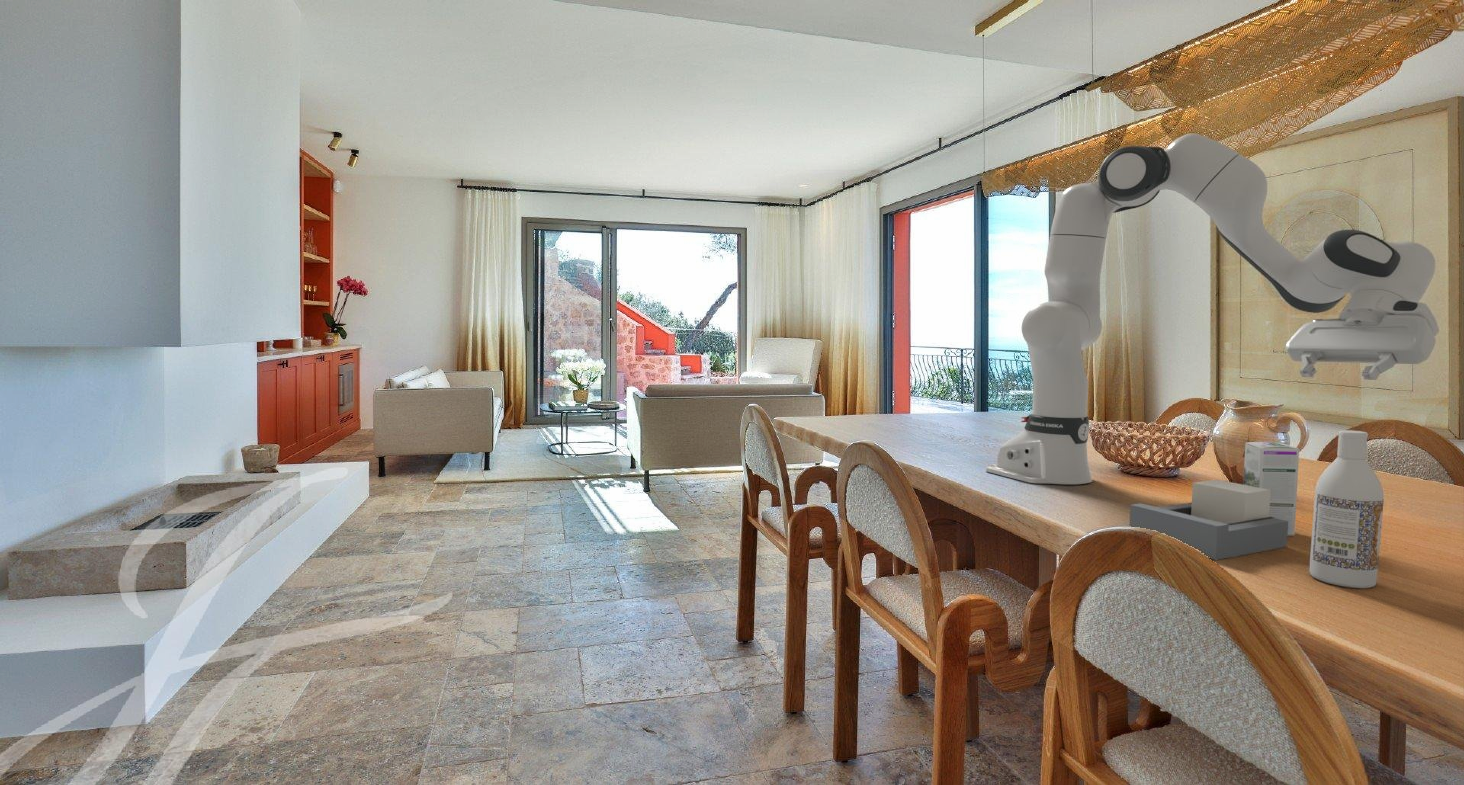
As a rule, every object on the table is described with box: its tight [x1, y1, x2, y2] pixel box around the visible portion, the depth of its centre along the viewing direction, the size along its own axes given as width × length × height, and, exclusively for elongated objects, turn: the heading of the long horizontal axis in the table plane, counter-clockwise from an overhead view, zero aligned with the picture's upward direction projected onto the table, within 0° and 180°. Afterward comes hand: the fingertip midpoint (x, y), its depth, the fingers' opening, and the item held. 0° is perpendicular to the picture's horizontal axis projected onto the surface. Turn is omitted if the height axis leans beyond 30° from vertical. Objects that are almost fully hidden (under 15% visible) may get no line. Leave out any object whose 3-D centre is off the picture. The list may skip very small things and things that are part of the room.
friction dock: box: [1129, 501, 1288, 561], centre depth 116 cm, size 17×14×5 cm
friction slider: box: [1191, 479, 1271, 524], centre depth 118 cm, size 6×8×8 cm
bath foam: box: [1308, 429, 1384, 589], centre depth 97 cm, size 7×7×20 cm
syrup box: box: [1242, 441, 1300, 537], centre depth 122 cm, size 6×6×14 cm
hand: (1335, 376), depth 127 cm, fingers open, 8 cm apart
